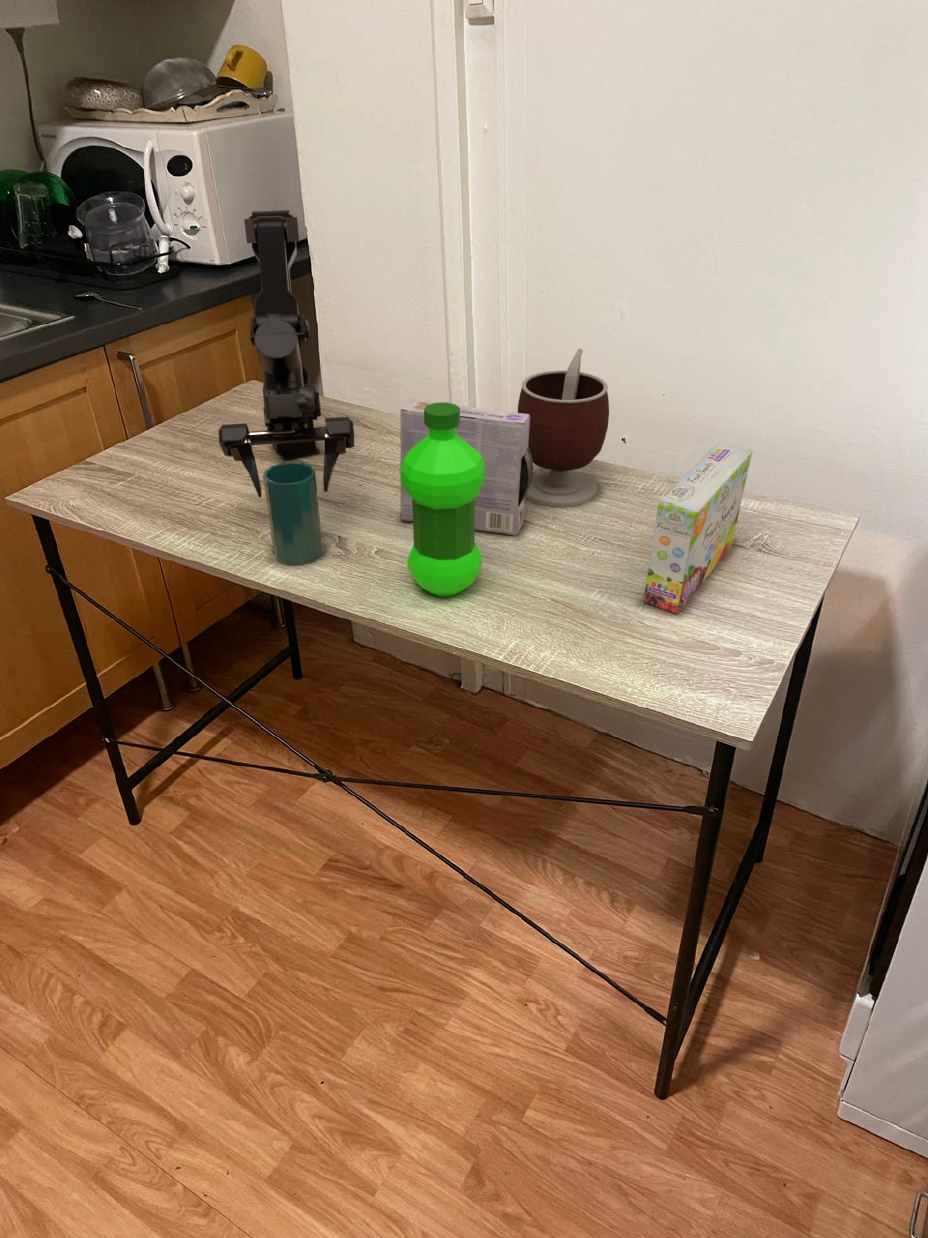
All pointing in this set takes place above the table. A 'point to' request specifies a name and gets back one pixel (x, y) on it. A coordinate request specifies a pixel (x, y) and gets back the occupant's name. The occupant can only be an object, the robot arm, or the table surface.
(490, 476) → the cake pan box
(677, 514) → the snack box
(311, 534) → the teal and beige cup
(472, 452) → the plastic bottle
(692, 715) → the table surface
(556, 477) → the mate gourd
